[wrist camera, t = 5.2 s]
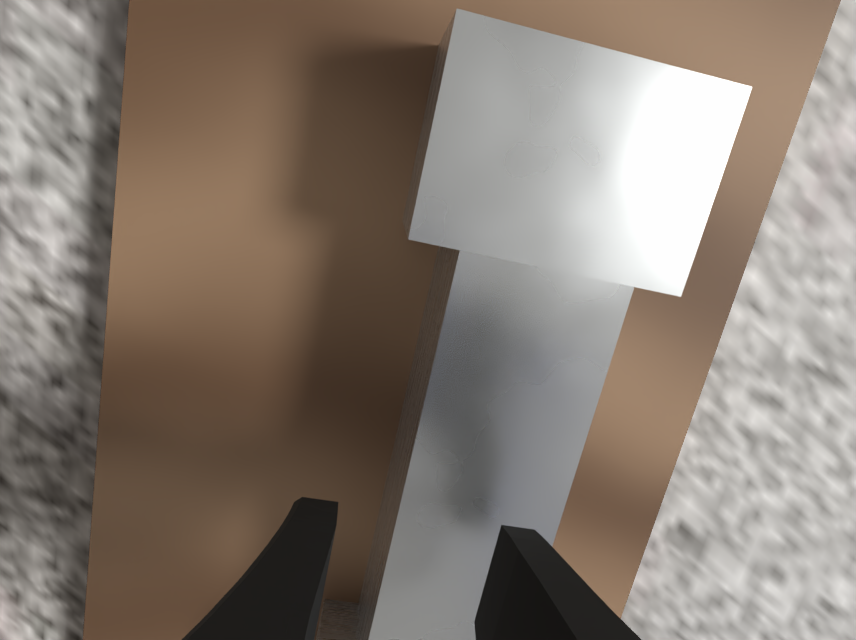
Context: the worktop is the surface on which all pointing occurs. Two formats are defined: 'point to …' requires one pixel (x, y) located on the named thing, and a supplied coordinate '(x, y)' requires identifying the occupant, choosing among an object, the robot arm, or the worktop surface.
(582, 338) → the grey stepped bar
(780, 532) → the worktop surface
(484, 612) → the robot arm
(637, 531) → the rack board
